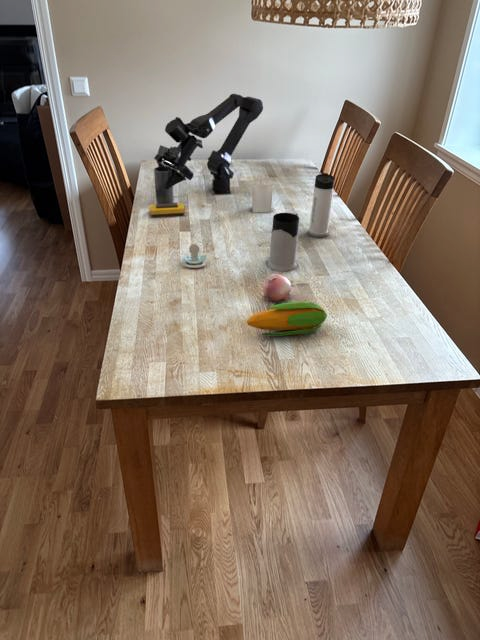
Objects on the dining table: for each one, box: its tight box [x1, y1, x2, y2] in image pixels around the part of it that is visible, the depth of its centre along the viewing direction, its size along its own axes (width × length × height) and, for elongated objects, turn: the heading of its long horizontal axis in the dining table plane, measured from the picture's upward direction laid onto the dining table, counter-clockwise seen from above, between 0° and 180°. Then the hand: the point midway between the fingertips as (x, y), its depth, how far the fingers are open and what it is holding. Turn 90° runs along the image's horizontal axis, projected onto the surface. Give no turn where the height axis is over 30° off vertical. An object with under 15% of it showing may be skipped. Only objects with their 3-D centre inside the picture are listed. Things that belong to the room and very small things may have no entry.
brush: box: [149, 202, 186, 218], centre depth 178 cm, size 12×6×4 cm, turn 103°
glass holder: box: [267, 211, 300, 272], centre depth 148 cm, size 9×14×15 cm, turn 155°
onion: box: [262, 273, 292, 304], centre depth 132 cm, size 8×8×7 cm
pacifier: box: [181, 243, 207, 269], centre depth 146 cm, size 7×6×6 cm
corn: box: [246, 301, 328, 337], centre depth 119 cm, size 7×8×20 cm
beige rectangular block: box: [251, 183, 273, 213], centre depth 182 cm, size 4×7×10 cm, turn 93°
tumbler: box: [153, 166, 175, 204], centre depth 182 cm, size 6×6×12 cm
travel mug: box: [308, 172, 336, 238], centre depth 163 cm, size 6×7×20 cm
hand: (160, 185), depth 181 cm, fingers closed on tumbler, 6 cm apart
